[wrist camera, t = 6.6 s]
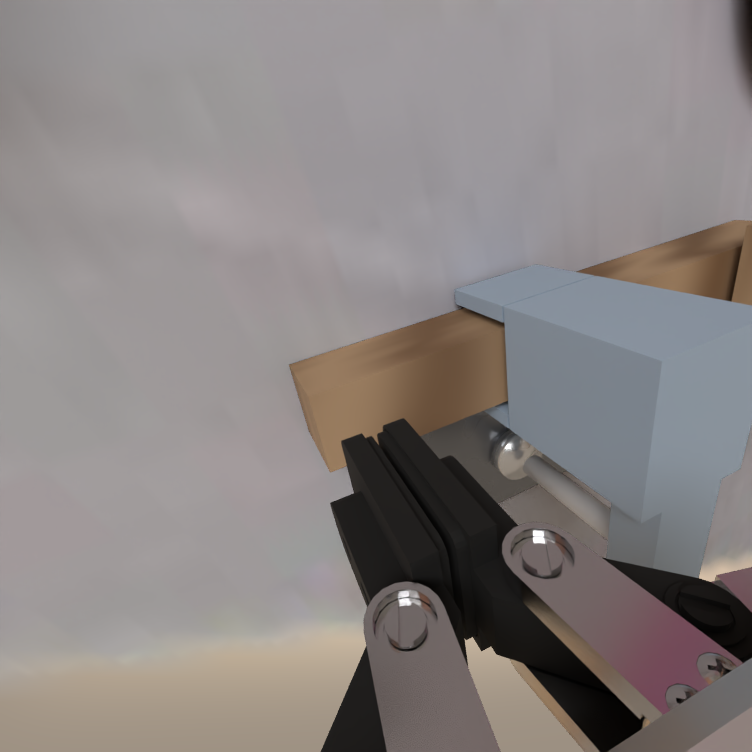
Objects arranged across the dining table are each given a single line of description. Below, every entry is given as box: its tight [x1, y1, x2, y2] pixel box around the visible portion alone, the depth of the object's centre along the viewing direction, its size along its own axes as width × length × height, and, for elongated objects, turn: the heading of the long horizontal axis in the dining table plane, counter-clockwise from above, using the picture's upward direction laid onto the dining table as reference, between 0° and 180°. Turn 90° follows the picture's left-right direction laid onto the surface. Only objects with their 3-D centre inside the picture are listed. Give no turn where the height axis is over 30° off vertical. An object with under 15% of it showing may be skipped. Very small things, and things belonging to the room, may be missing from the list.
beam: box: [289, 220, 752, 472], centre depth 17 cm, size 24×11×9 cm, turn 102°
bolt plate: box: [420, 411, 567, 504], centre depth 22 cm, size 24×6×2 cm, turn 102°
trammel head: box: [455, 264, 752, 578], centre depth 16 cm, size 4×11×9 cm, turn 12°
